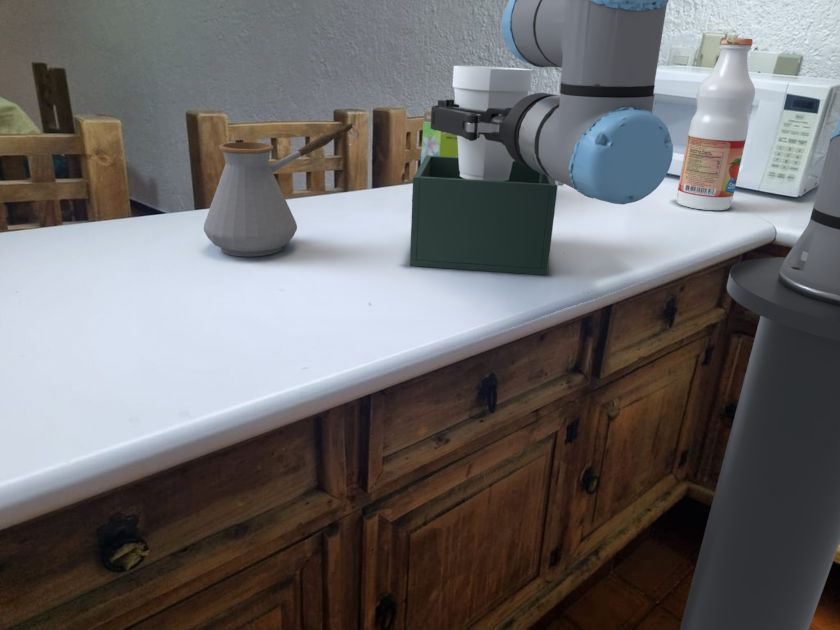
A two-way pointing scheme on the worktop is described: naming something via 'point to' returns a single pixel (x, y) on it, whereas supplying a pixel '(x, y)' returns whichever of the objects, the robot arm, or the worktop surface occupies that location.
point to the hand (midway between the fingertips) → (477, 112)
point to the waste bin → (481, 219)
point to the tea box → (437, 141)
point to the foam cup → (481, 93)
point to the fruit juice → (718, 131)
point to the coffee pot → (254, 199)
